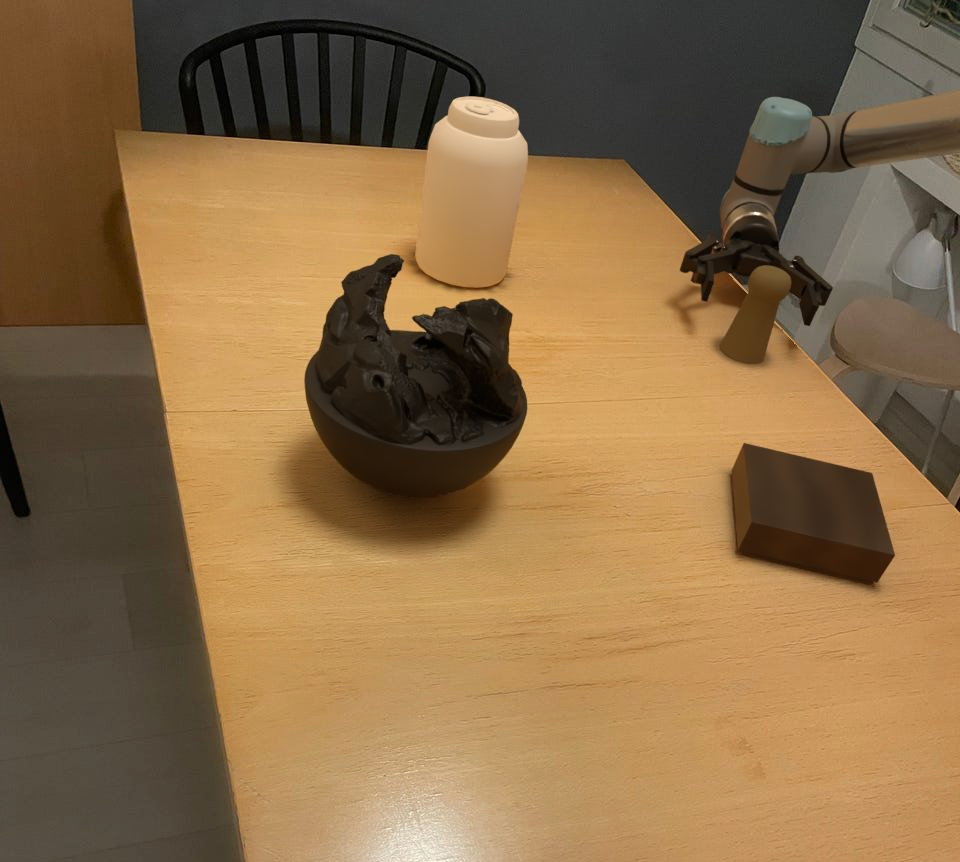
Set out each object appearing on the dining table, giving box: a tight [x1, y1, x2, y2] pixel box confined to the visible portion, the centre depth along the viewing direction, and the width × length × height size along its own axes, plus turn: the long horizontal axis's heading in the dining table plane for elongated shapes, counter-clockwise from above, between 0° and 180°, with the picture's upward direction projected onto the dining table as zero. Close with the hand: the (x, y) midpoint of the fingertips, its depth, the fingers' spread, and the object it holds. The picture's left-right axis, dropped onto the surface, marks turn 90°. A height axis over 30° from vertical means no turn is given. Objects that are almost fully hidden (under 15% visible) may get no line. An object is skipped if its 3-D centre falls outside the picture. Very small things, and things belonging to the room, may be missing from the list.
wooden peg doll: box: [719, 265, 791, 365], centre depth 116 cm, size 6×6×11 cm
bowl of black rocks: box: [303, 253, 528, 499], centre depth 81 cm, size 20×20×19 cm
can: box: [414, 95, 529, 289], centre depth 116 cm, size 12×12×20 cm
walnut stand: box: [731, 442, 896, 586], centre depth 92 cm, size 14×14×4 cm
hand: (759, 303), depth 116 cm, fingers open, 13 cm apart
